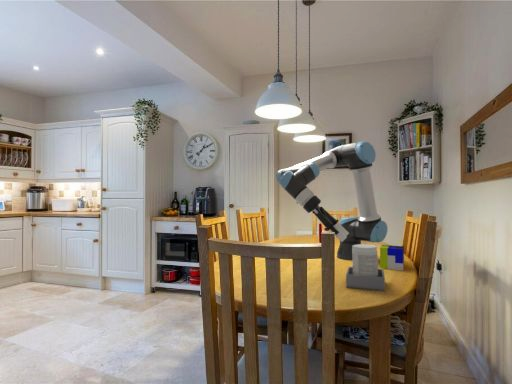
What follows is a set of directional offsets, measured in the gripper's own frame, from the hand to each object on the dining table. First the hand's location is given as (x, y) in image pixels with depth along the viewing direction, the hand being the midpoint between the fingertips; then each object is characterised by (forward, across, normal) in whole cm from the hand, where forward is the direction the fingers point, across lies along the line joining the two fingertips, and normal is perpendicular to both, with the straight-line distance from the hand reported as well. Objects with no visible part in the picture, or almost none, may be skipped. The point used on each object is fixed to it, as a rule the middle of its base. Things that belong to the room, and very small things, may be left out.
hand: (345, 237), depth 123 cm
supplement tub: (+18, 0, -8) cm, 19 cm away
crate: (+18, 0, -8) cm, 20 cm away
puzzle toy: (+27, -36, 0) cm, 45 cm away
